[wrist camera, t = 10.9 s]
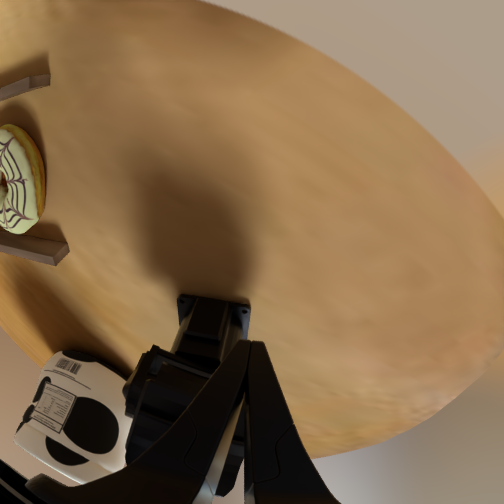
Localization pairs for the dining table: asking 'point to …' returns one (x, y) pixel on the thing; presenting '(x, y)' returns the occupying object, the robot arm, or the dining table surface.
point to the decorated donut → (20, 180)
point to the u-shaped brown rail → (23, 244)
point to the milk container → (77, 418)
